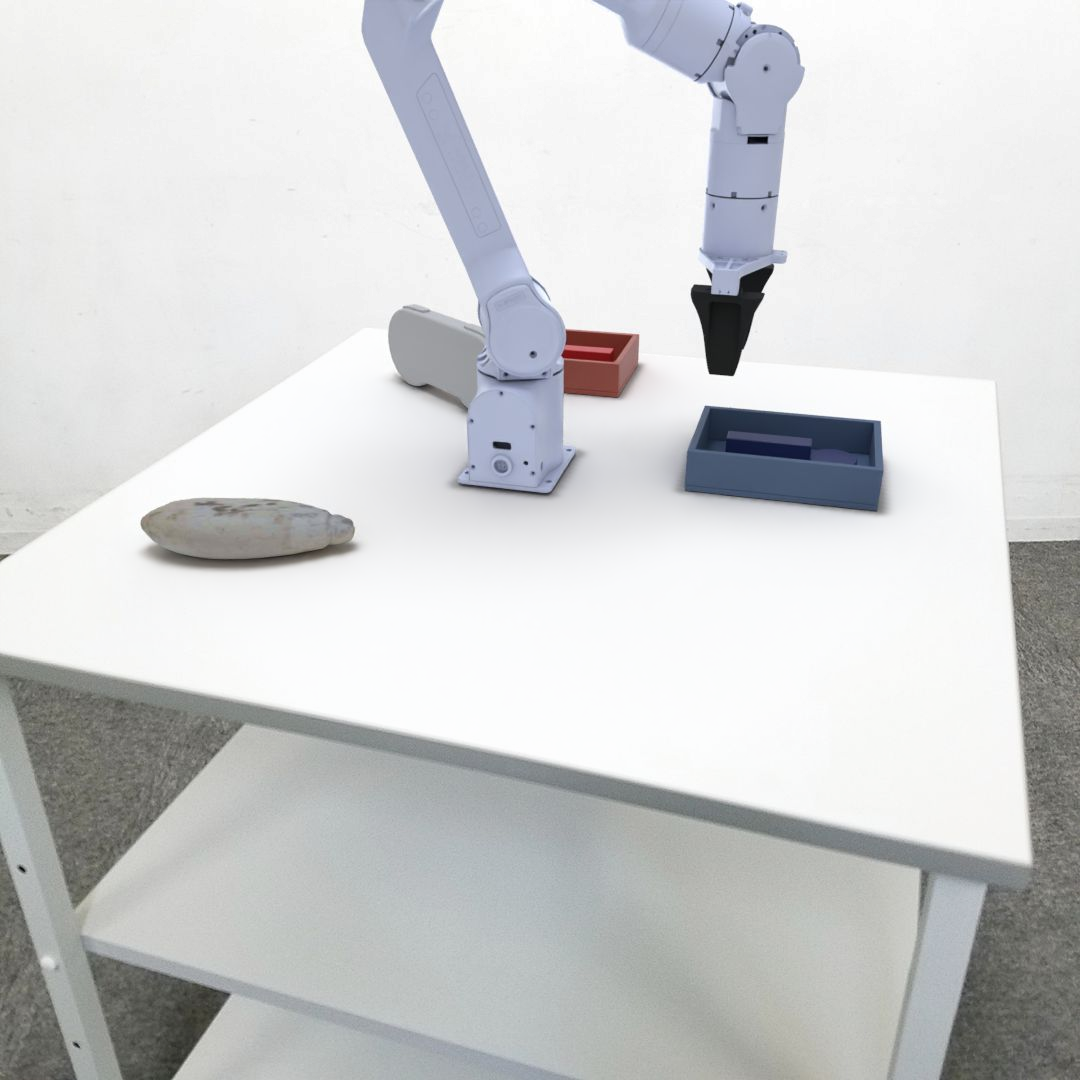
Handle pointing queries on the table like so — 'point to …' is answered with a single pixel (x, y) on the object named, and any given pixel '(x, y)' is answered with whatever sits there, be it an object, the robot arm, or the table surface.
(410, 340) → the game controller
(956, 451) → the table surface
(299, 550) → the decorative stone
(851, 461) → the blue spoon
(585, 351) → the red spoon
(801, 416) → the blue bin
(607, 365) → the red bin
